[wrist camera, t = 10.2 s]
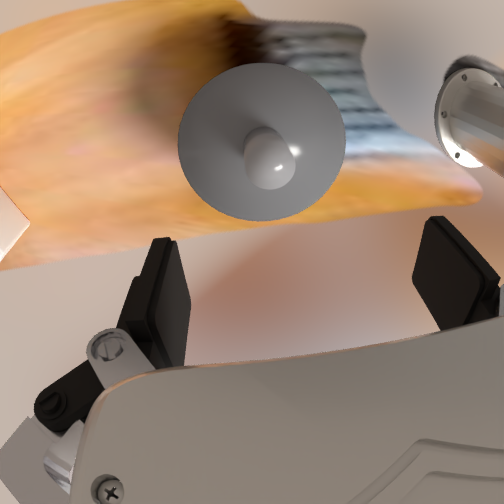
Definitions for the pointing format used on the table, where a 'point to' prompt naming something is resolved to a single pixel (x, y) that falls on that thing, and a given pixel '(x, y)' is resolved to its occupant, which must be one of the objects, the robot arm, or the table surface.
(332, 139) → the lid
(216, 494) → the robot arm
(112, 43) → the table surface
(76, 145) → the table surface
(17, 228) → the medicine bottle
